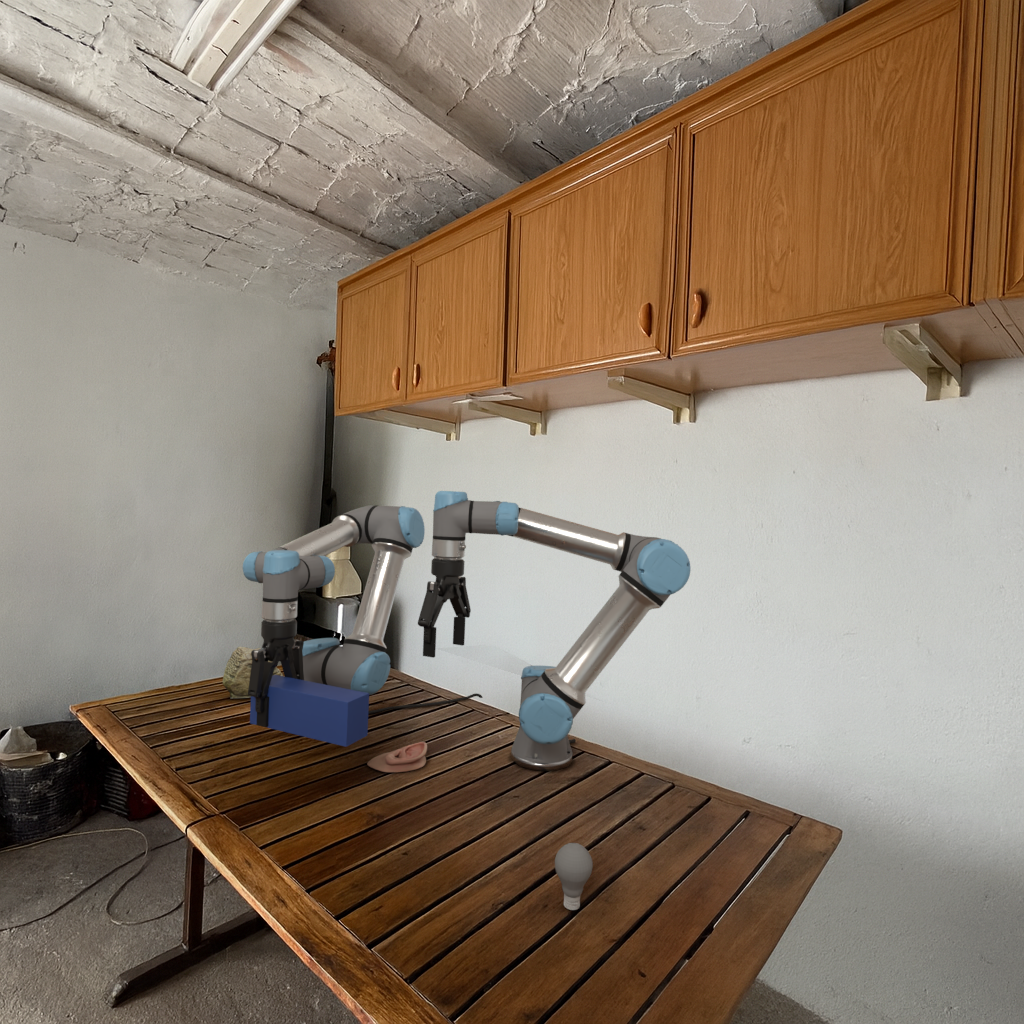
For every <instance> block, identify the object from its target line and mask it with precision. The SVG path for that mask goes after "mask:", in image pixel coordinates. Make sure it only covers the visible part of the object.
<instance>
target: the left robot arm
mask: <svg viewBox="0 0 1024 1024" xmlns="http://www.w3.org/2000/svg"><path fill="white" fill-rule="evenodd" d="M425 528H426V527H425V522H424V519H423V515H422V514H421V513H420V512H419V510H418V509H416V508H414V507H409V506H405V505H400V506H394V505H378V504H377V505H376V504H370V505H364V506H361V507H358V508H354V509H352V510H350V511H347V512H344V513H342V514H340V515H338V516H336V517H334V518H333V520H332V521H331V523H328V524H327V525H323V526H321V527H319V528H318V529H315V530H313V531H311V532H308V533H307V534H304V535H302V536H300V537H298V538H296V539H293V540H291V541H289V542H286V543H285V544H283V545H280V546H278V547H276V548H274V549H271V550H268V551H253V552H250V553H248V554H247V555H246V556H245V558H244V560H243V563H242V573H243V575H244V577H245V578H246V580H248V581H250V582H253V583H258V584H262V600H261V604H262V605H261V618H262V621H261V623H260V624H261V627H260V628H261V629H260V636H261V638H262V639H263V641H262V642H263V643H262V645H261V647H260V648H261V649H259V650H252V652H251V656H252V666H251V674H250V681H249V688H248V695H249V696H253V697H255V698H256V704H255V710H256V712H257V724H256V725H255V726H258V727H263V728H267V727H268V720H269V697H267V696H266V695H267V692H268V689H269V685H270V682H271V679H272V676H273V672H274V669H275V667H276V668H278V664H279V663H280V664H281V668H282V671H283V672H282V673H283V676H284V677H289V678H295V679H300V680H305V681H310V682H315V683H320V684H325V685H330V686H335V687H340V688H345V689H350V690H355V691H360V692H365V693H369V696H372V695H375V694H376V693H378V692H379V691H380V690H381V689H382V688H383V687H384V685H385V684H386V682H387V680H388V678H389V676H390V672H391V664H390V663H391V658H390V656H389V654H388V653H386V652H387V645H386V643H385V642H384V639H385V634H386V632H387V631H386V630H387V628H388V627H387V626H388V624H389V619H390V615H391V611H392V608H393V604H394V601H395V598H396V597H395V596H396V593H397V589H398V585H399V581H400V578H401V574H402V570H403V567H404V561H405V560H406V559H408V558H410V557H411V556H412V552H413V549H417V548H419V547H420V546H421V545H422V544H423V542H424V540H425V534H426V533H425V531H426V529H425ZM360 544H367V545H371V548H372V549H373V551H374V556H373V558H372V562H371V566H370V569H369V573H368V576H367V581H366V583H365V587H364V590H363V594H362V598H361V600H360V601H361V602H360V604H359V608H358V612H357V615H356V619H355V622H354V626H353V629H352V633H351V634H350V635H348V636H346V637H345V638H344V641H343V644H342V646H341V645H340V644H341V642H340V640H339V638H337V637H321V638H313V639H307V640H302V639H301V640H300V639H295V638H296V636H297V633H298V631H297V630H298V621H297V619H296V618H297V617H298V601H299V591H301V590H307V589H315V588H316V589H317V588H321V587H324V586H327V585H329V584H330V583H331V582H332V581H333V580H334V577H335V573H336V571H335V570H336V568H335V564H334V562H333V560H332V559H331V558H329V557H328V555H330V554H333V553H334V552H335V551H336V552H337V551H338V550H339V549H342V548H344V547H346V548H350V547H353V546H355V545H360ZM268 660H269V661H271V662H268ZM261 690H262V692H261ZM474 697H478V698H480V699H483V695H482V694H480V693H472V694H470V695H467V696H462V697H457V698H452V699H447V700H441V701H433V702H425V703H423V702H422V703H414V704H403V705H393V706H387V707H382V708H378V709H374V710H369V711H368V715H372V714H373V715H374V714H376V713H381V712H385V711H391V710H398V709H399V710H400V709H411V708H420V707H429V706H430V707H431V706H437V705H444V704H450V703H455V702H461V701H465V700H470V699H472V698H474Z"/></svg>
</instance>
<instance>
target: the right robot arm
mask: <svg viewBox="0 0 1024 1024" xmlns="http://www.w3.org/2000/svg"><path fill="white" fill-rule="evenodd" d="M433 506H434V507H433V509H432V510H433V512H432V513H433V516H432V517H433V518H432V519H433V520H432V542H431V543H432V544H431V556H432V557H433V558H432V559H431V565H430V566H431V568H430V573H431V575H432V576H434V577H435V581H427V584H426V592H425V596H424V599H423V603H422V606H421V610H420V613H419V616H418V620H417V625H418V626H419V627H422V628H423V636H422V637H423V643H422V657H427V658H435V657H436V647H437V646H436V645H437V626H435V625H436V623H437V620H438V618H439V615H440V613H441V612H442V611H441V610H442V608H443V607H444V604H445V603H447V602H448V600H449V602H450V604H451V607H452V609H453V611H454V614H455V616H453V629H452V630H453V632H452V633H453V634H452V645H455V646H461V647H463V646H465V638H466V637H465V636H466V618H467V619H468V618H470V616H471V613H472V612H471V611H472V609H471V605H470V600H469V595H468V590H467V578H466V576H464V574H465V560H464V559H463V558H464V557H465V556H466V555H465V553H466V552H465V551H466V549H467V545H466V534H479V535H481V534H482V535H497V536H507V537H512V538H517V539H519V540H524V541H526V542H531V543H534V544H537V545H541V546H543V547H548V548H551V549H554V550H558V551H562V552H565V553H569V554H572V555H576V556H579V557H583V558H586V559H589V560H593V561H595V562H600V563H603V564H607V565H609V566H610V567H611V569H612V570H613V571H617V572H620V573H619V575H618V582H619V584H618V587H617V588H616V589H615V590H614V592H613V593H612V595H611V596H610V597H609V598H608V600H607V601H606V602H605V604H604V605H603V606H602V607H601V608H600V610H599V611H598V612H597V614H596V615H595V616H594V618H593V619H592V620H591V621H590V623H589V624H588V625H587V627H586V628H585V629H584V630H583V632H582V633H581V634H580V635H579V636H578V638H577V639H576V641H575V642H574V643H573V645H572V646H571V647H570V648H569V650H568V651H567V652H566V653H565V655H564V656H563V657H562V658H561V659H560V661H559V662H558V664H557V665H556V666H553V665H528V666H525V667H523V668H522V672H521V677H520V679H521V685H520V686H521V687H520V689H521V690H520V700H519V701H520V703H519V709H518V720H519V727H518V730H517V733H516V735H515V738H514V741H513V744H512V746H511V751H510V759H511V761H512V762H513V763H515V764H516V765H518V766H520V767H522V768H525V769H528V770H532V771H540V772H553V771H558V770H559V771H560V770H562V769H565V768H567V767H569V766H570V765H571V764H572V763H573V762H572V761H573V751H572V746H571V744H575V743H576V741H577V740H576V738H572V739H569V736H568V735H569V733H570V731H571V729H572V728H573V724H574V723H573V722H574V719H575V717H576V716H577V715H578V714H579V713H580V712H581V710H582V708H583V707H584V706H585V704H586V703H587V700H586V692H587V691H588V690H589V688H590V687H591V686H592V685H593V683H594V682H595V681H596V679H597V678H598V677H599V675H601V673H602V672H603V670H604V669H605V667H606V666H607V665H608V664H609V663H610V661H611V660H612V659H613V658H614V656H615V655H616V654H617V652H618V651H619V650H620V649H621V648H622V646H623V645H624V643H625V642H626V641H627V640H628V638H629V637H630V636H631V635H632V633H633V632H634V631H635V629H636V628H637V627H638V626H639V624H640V623H641V622H642V620H643V619H644V618H645V616H646V615H647V614H648V613H649V612H650V611H651V610H656V609H661V608H662V607H663V605H664V604H665V603H666V601H667V600H668V599H669V597H670V596H671V595H674V594H677V592H679V591H680V590H682V589H683V588H684V587H685V586H686V584H687V582H688V581H689V579H690V575H691V562H690V558H689V556H688V554H687V553H686V551H685V550H684V549H683V548H682V547H681V546H680V545H679V544H678V543H676V542H674V541H672V540H670V539H666V538H661V537H657V536H656V537H655V536H643V535H636V534H632V533H628V532H624V531H623V532H621V533H619V534H617V533H613V532H609V531H605V530H603V529H598V528H595V527H592V526H588V525H584V524H580V523H577V522H573V521H570V520H566V519H563V518H559V517H555V516H552V515H548V514H545V513H541V512H537V511H534V510H531V509H527V508H523V507H519V505H518V503H516V502H509V501H500V500H494V501H493V500H492V501H491V500H489V501H488V500H485V501H484V500H483V501H482V500H471V499H470V500H469V497H468V493H467V492H466V491H454V490H438V491H437V492H436V493H435V495H434V504H433Z"/></svg>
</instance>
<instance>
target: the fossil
mask: <svg viewBox="0 0 1024 1024" xmlns="http://www.w3.org/2000/svg"><path fill="white" fill-rule="evenodd" d="M261 648H262V647H258V648H251V647H247V646H246V647H245V646H238V647H237V648H236V649H235V650H233V651H232V653H231V656H230V657H229V659H228V660H227V663H226V666H225V668H224V671H223V675H222V676H223V677H222V685H223V687H224V688H225V690H226V691H228V693H229V698H230V699H251V696H249V695H248V688H249V681H250V674H251V666H252V656H251V652H252V650H259V649H261ZM268 662H271V661H269V660H268ZM273 675H279V676H284V674H283V672H281V669H279V668H278V667H275V669H274V672H273Z"/></svg>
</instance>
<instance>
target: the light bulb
mask: <svg viewBox="0 0 1024 1024" xmlns="http://www.w3.org/2000/svg"><path fill="white" fill-rule="evenodd" d="M593 866H594V863H593V859H592V856H591V854H590V852H589V850H588V849H586V847H585V846H583V845H582V844H580V843H577V842H568V843H566V844H563V846H561V847H560V848H559V849H558V850H557V853H556V855H555V858H554V869H555V873H556V874H557V877H558V879H559V881H560V883H561V890H562V892H563V906H564V908H566V909H567V910H570V911H577V910H578V909H580V907H581V895H582V894H583V891H584V886H585V884H586V883H587V882H588V880H589V879H590V877H591V874H592V872H593Z"/></svg>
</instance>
